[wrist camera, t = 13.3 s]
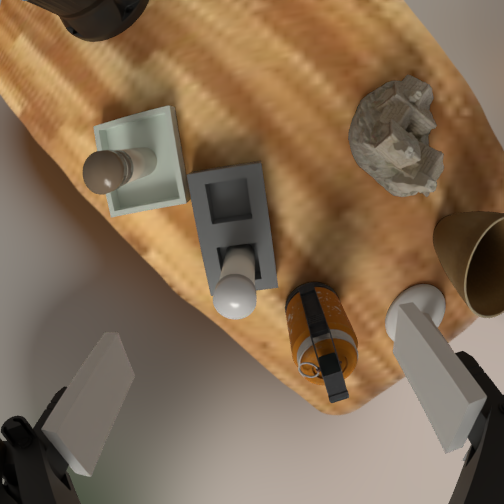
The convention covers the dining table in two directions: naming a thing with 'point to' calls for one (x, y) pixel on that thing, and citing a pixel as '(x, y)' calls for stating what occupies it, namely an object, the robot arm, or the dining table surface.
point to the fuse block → (233, 219)
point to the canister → (321, 338)
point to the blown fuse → (117, 168)
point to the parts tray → (167, 153)
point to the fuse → (236, 283)
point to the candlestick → (424, 299)
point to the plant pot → (474, 258)
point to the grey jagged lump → (397, 137)
